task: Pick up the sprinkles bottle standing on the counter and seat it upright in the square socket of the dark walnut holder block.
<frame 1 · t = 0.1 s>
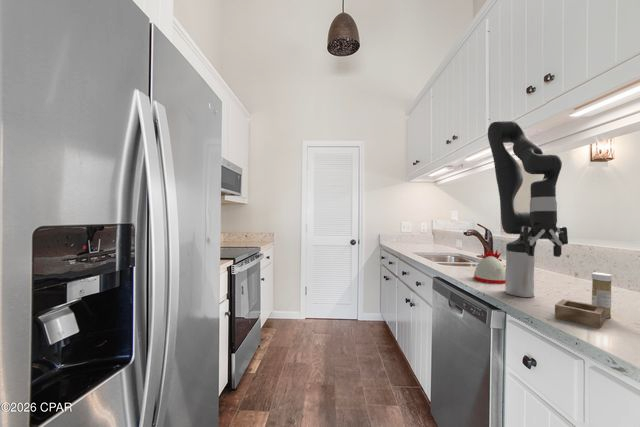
hand: (543, 256, 98), 17 cm above the worktop, tool pointing down, fingers open, 8 cm apart
sprinkles bottle: (601, 316, 88), on the worktop
white rounded dome: (490, 280, 136), on the worktop
walnut holder: (580, 319, 86), on the worktop
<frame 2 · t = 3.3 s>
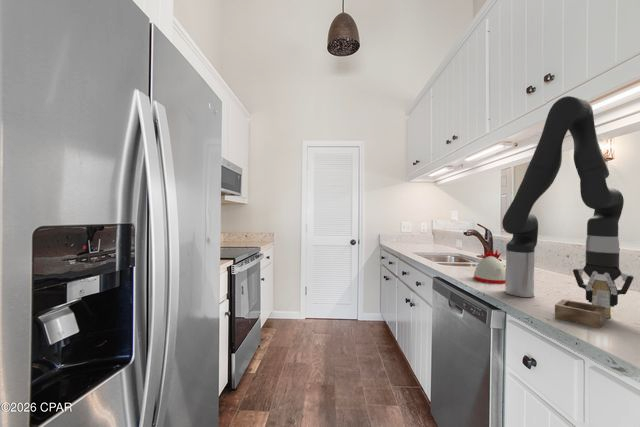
hand: (601, 303, 88), 4 cm above the worktop, tool pointing down, fingers closed on sprinkles bottle, 4 cm apart
sprinkles bottle: (601, 316, 89), on the worktop, touching gripper
everything else where it was.
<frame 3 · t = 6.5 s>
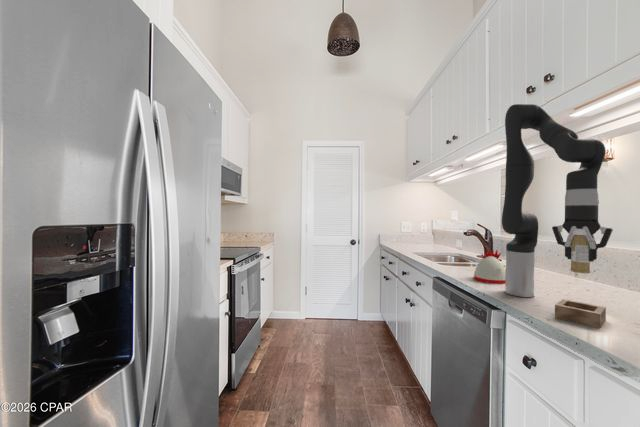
hand: (580, 259, 86), 18 cm above the worktop, tool pointing down, fingers closed on sprinkles bottle, 4 cm apart
sprinkles bottle: (580, 273, 86), point 14 cm above the worktop, touching gripper
everything else where it was.
when the fingers open (5 cm above the worktop, at t = 9.6 s): sprinkles bottle drops 1 cm, resting in walnut holder.
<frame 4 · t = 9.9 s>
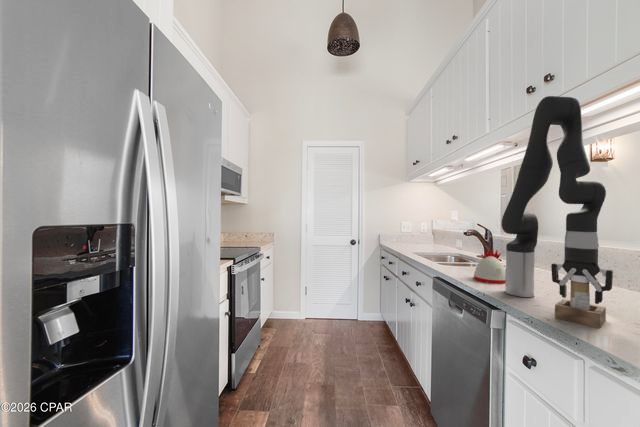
hand: (580, 300, 86), 6 cm above the worktop, tool pointing down, fingers open, 7 cm apart
sprinkles bottle: (580, 319, 86), resting in walnut holder
everything else where it was.
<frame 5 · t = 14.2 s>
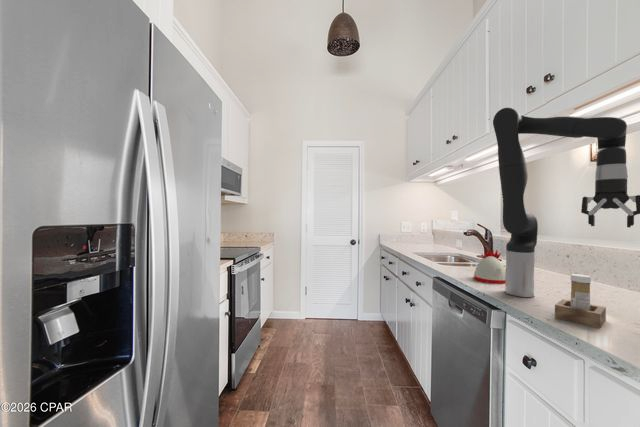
hand: (610, 226, 94), 28 cm above the worktop, tool pointing down, fingers open, 8 cm apart
nothing on the worktop moved.
at the end: sprinkles bottle 0.0 cm off-centre on the walnut holder, point 0.0 cm above the walnut holder's base; sprinkles bottle tilted 1°; the gripper is holding nothing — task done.
